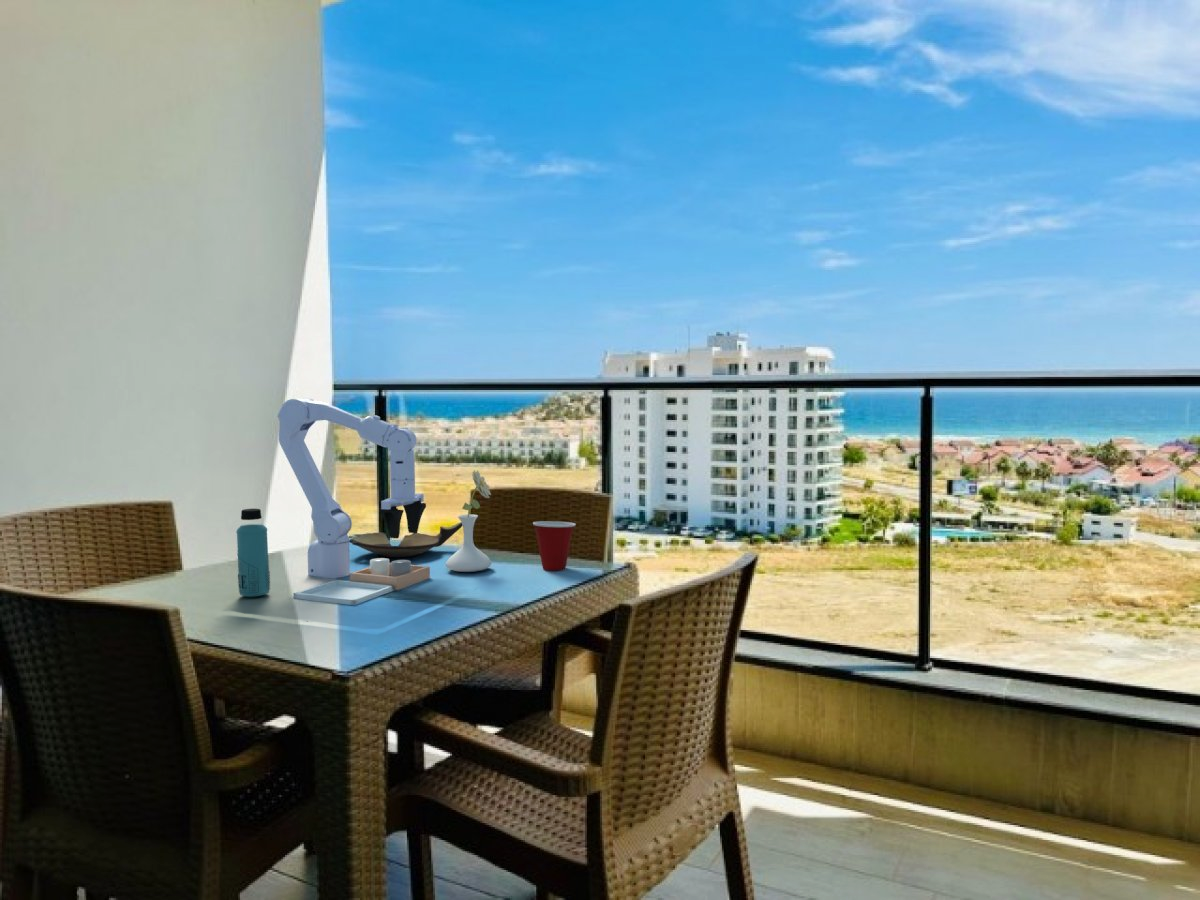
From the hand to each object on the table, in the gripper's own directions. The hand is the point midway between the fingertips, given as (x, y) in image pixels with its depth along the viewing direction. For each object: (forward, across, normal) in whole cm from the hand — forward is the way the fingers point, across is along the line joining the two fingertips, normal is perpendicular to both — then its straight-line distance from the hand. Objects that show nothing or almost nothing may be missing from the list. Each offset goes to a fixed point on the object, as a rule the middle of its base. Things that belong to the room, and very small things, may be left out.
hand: (403, 535), depth 213 cm
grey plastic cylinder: (+10, -7, -4) cm, 13 cm away
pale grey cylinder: (+10, -7, +2) cm, 12 cm away
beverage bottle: (+11, -30, +18) cm, 37 cm away
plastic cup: (+11, +23, -29) cm, 39 cm away
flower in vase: (+11, +14, -10) cm, 20 cm away
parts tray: (+10, -21, +1) cm, 23 cm away
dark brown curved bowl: (+11, +24, +16) cm, 31 cm away
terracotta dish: (+10, -7, -1) cm, 13 cm away
